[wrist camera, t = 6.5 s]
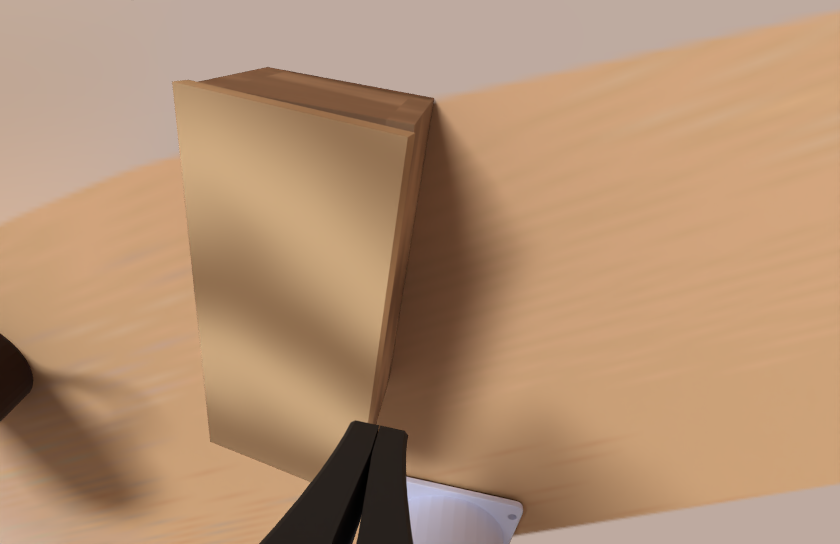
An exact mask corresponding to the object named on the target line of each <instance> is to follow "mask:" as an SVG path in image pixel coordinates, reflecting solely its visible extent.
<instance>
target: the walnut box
mask: <svg viewBox="0 0 840 544" xmlns="http://www.w3.org/2000/svg"><path fill="white" fill-rule="evenodd" d="M199 82H200V83H204V84H208V85H213V86H217V87H221V88H226V89H230V90H234V91H238V92H243V93H247V94H251V95H256V96H260V97H264V98H268V99H273V100H277V101H281V102H286V103H290V104H294V105H299V106H303V107H307V108H311V109H316V110H320V111H324V112H329V113H333V114H337V115H341V116H346V117H350V118H354V119H359V120H363V121H367V122H371V123H376V124H380V125H384V126H389V127H393V128H397V129H402V130H406V131H410V132H414V133H415V139H414V146H413V153H412V160H411V167H410V173H409V180H408V187H407V194H406V201H405V207H404V214H403V221H402V228H401V235H400V242H399V248H398V255H397V262H396V269H395V276H394V282H393V289H392V296H391V303H390V310H389V316H388V323H387V330H386V337H385V344H384V351H383V357H382V364H381V371H380V378H379V385H378V391H377V398H376V405H375V412H374V419H373V424H375V425H376V423H377V419H378V416H379V412H380V409H381V405H382V402H383V398H384V394H385V391H386V387H387V384H388V380H389V376H390V370H391V363H392V357H393V351H394V345H395V338H396V332H397V326H398V320H399V314H400V307H401V301H402V295H403V289H404V282H405V276H406V270H407V264H408V258H409V251H410V245H411V239H412V233H413V226H414V220H415V214H416V208H417V202H418V195H419V189H420V183H421V177H422V170H423V164H424V158H425V152H426V146H427V139H428V133H429V127H430V121H431V114H432V108H433V102H434V98H431V97H425V96H420V95H415V94H409V93H404V92H398V91H393V90H388V89H382V88H377V87H372V86H366V85H361V84H356V83H350V82H344V81H339V80H334V79H328V78H323V77H318V76H312V75H307V74H302V73H296V72H291V71H286V70H280V69H275V68H270V67H266V68H261V69H257V70H252V71H247V72H242V73H237V74H233V75H228V76H223V77H218V78H214V79H209V80H204V81H199Z"/></svg>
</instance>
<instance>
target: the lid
mask: <svg viewBox="0 0 840 544" xmlns="http://www.w3.org/2000/svg"><path fill="white" fill-rule="evenodd" d="M172 84H173V93H174V103H175V111H176V112H175V113H176V122H177V131H178V140H179V150H180V160H181V169H182V179H183V188H184V197H185V207H186V216H187V226H188V235H189V245H190V254H191V264H192V273H193V282H194V292H195V301H196V311H197V320H198V330H199V339H200V348H201V358H202V367H203V377H204V386H205V396H206V405H207V415H208V424H209V433H210V442H213V443H215V444H218V445H220V446H223V447H225V448H228V449H230V450H233V451H235V452H238V453H240V454H242V455H245V456H247V457H250V458H252V459H255V460H257V461H260V462H262V463H265V464H267V465H270V466H272V467H275V468H277V469H280V470H282V471H285V472H287V473H290V474H292V475H295V476H297V477H299V478H302V479H304V480H307V481H309V482H312V480H313V479H314V478H315V477H316V475H317V474H318V473H319V471H320V470H321V469H322V467H323V466H324V464H325V463H326V462H327V460H328V459H329V457H330V456H331V454H332V453H333V451H334V450H335V448H336V447H337V445H338V444H339V442H340V440H341V439H342V437H343V435H344V434H345V432H346V430H347V428H348V426H349V424H350V422H353V421H355V420H357V421H361V422H366V423H370V424H373V419H374V412H375V405H376V398H377V391H378V385H379V378H380V371H381V364H382V357H383V351H384V344H385V337H386V330H387V323H388V316H389V310H390V303H391V296H392V289H393V282H394V276H395V269H396V262H397V255H398V248H399V242H400V235H401V228H402V221H403V214H404V207H405V201H406V194H407V187H408V180H409V173H410V167H411V160H412V153H413V146H414V139H415V133H414V132H410V131H406V130H402V129H397V128H393V127H389V126H384V125H380V124H376V123H371V122H367V121H363V120H359V119H354V118H350V117H346V116H341V115H337V114H333V113H329V112H324V111H320V110H316V109H311V108H307V107H303V106H299V105H294V104H290V103H286V102H281V101H277V100H273V99H268V98H264V97H260V96H256V95H251V94H247V93H243V92H238V91H234V90H230V89H226V88H221V87H217V86H213V85H208V84H204V83H200V82H195V81H191V80H183V81H174V82H172Z"/></svg>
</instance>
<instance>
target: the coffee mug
mask: <svg viewBox="0 0 840 544" xmlns="http://www.w3.org/2000/svg"><path fill="white" fill-rule="evenodd" d="M32 385H33V376H32V372H31V369H30V367H29V365H28V363H27V361H26V360H25V358H24V357H23V355H22V354H21V353H20V352H19V350H18V349H17V348H16V347H15V346H14V345H13V344H12V343H11V342H10V341H8V340H7V339H6V338H5V337H3V336H2V335H1V334H0V421H1V420H2V419H3V418H4V417H5V416H6V415H7V414H8V413H9V412H10V411H11V410H12V409H13V408H14V407H15V406H16V405H17V404H18V403H19V402H20V401H21V400H22V399H23V398H24V397H25V396H26V395H27V394H28V393H29V392H30V390H31V388H32Z"/></svg>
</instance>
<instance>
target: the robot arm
mask: <svg viewBox="0 0 840 544" xmlns="http://www.w3.org/2000/svg"><path fill="white" fill-rule="evenodd" d="M378 428H379V425H375V424H370V423H366V422H361V421H357V420H355V421H353V422H350V424H349V426H348V428H347V430H346V432H345V434H344V435H343V437H342V439H341V440H340V442H339V444H338V445H337V447H336V448H335V450H334V451H333V453H332V454H331V456H330V457H329V459H328V460H327V462H326V463H325V464H324V466H323V467H322V469H321V470H320V471H319V473H318V474H317V475H316V477H315V478H314V479H313V480H312V482H311V483H310V484H309V486H308V487H307V488H306V490H305V491H304V492H303V494H302V495H301V496H300V497H299V499H298V500H297V501H296V502H295V503H294V504H293V506H292V507H291V508H290V509H289V510H288V512H287V513H286V514H285V515H284V516H283V518H282V519H281V520H280V521H279V522H278V523H277V525H276V526H275V527H274V528H273V529H272V530H271V531H270V532H269V534H268V535H267V536H266V537H265V538H264V539H263V540H262V541H261V542H260V543H259V544H352V543H353V540H354V537H355V534H356V531H357V528H358V525H359V522H360V519H361V522H360V528H359V534H358V539H357V544H509V543H510V541H511V539H512V536H513V534H514V532H515V530H516V527H517V525H518V523H519V521H520V518H521V516H522V514H523V506H522V504H521V503H520V502H518V501H514V500H510V499H505V498H501V497H496V496H492V495H487V494H483V493H478V492H474V491H469V490H465V489H460V488H456V487H451V486H447V485H442V484H438V483H433V482H429V481H424V480H420V479H415V478H411V477H406V448H407V438H408V435H407V433H406V432H405V431H402V430H398V429H393V428H389V427H384V426H380V429H379V432H378ZM377 434H378V435H377ZM361 515H362V516H361Z"/></svg>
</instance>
